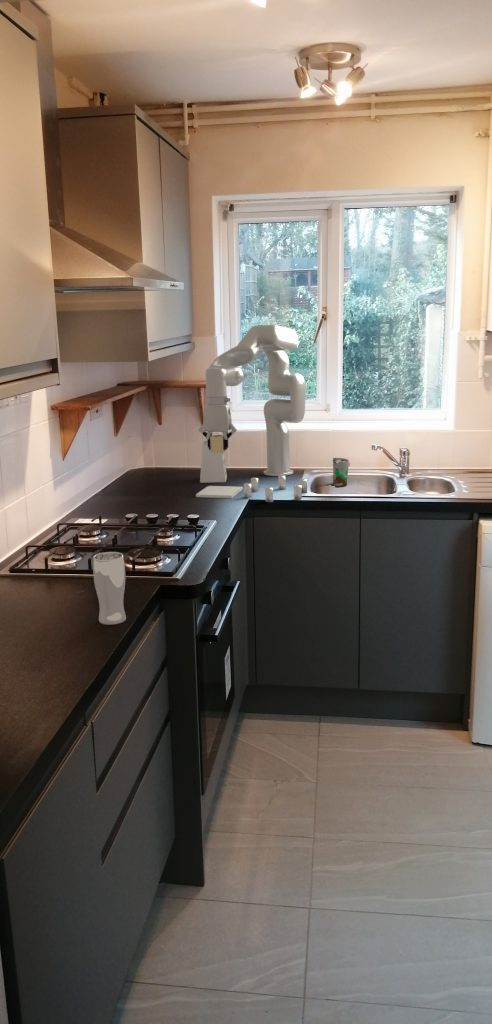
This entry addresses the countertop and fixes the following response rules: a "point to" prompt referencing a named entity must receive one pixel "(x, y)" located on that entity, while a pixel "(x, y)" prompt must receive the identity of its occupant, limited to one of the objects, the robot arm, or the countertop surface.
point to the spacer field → (281, 485)
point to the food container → (340, 472)
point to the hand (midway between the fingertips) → (218, 449)
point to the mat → (219, 492)
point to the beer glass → (110, 586)
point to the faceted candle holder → (217, 443)
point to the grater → (212, 465)
